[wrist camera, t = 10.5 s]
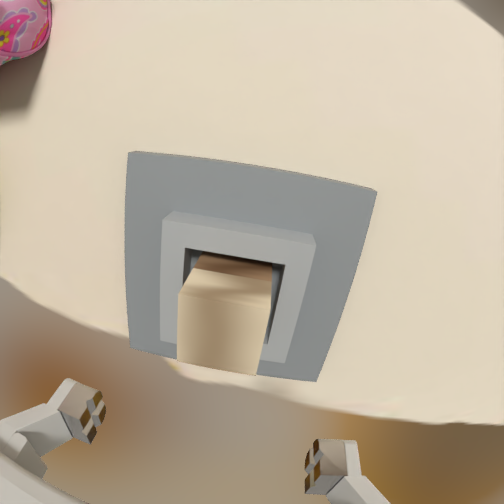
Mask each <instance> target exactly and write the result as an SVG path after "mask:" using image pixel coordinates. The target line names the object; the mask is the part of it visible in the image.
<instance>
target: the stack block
mask: <svg viewBox="0 0 504 504" xmlns="http://www.w3.org/2000/svg"><path fill="white" fill-rule="evenodd" d="M271 286H272V262H266V261H260V260H254V259H248V258H243V257H237V256H231V255H225V254H219V253H214V252H208V251H203V252H202V254H201V255H200V257H199V259H198V261H197V262H196V264H195V266H194V267H193V269H192V271H191V273H190V274H189V276H188V278H187V280H186V281H185V283H184V285H183V287H182V288H181V290H180V292H179V294H178V318H177V361H179V362H184V363H188V364H193V365H198V366H203V367H208V368H213V369H218V370H224V371H229V372H235V373H241V374H247V375H254V376H256V373H257V368H258V364H259V360H260V355H261V351H262V346H263V342H264V338H265V333H266V329H267V324H268V319H269V315H270V310H271Z"/></svg>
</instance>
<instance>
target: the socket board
mask: <svg viewBox="0 0 504 504" xmlns="http://www.w3.org/2000/svg"><path fill="white" fill-rule="evenodd" d="M376 195H377V192H376V191H375V190H373V189H371V188H367V187H363V186H359V185H355V184H350V183H346V182H341V181H337V180H332V179H327V178H322V177H317V176H312V175H307V174H302V173H297V172H292V171H286V170H280V169H275V168H269V167H263V166H257V165H250V164H244V163H237V162H230V161H223V160H216V159H208V158H200V157H191V156H183V155H173V154H163V153H152V152H140V151H134V152H129V153H128V161H127V176H126V196H125V280H126V300H127V315H128V328H129V338H130V348H133V349H137V350H140V351H144V352H148V353H152V354H156V355H160V356H164V357H168V358H173V359H177V318H178V294H179V292H180V290H181V288H182V287H183V285H184V283H185V281H186V280H187V278H188V276H189V274H190V273H191V271H192V269H193V267H194V266H195V264H196V262H197V261H198V259H199V257H200V255H201V254H202V252H203V251H208V252H214V253H219V254H225V255H231V256H237V257H243V258H248V259H254V260H260V261H266V262H272V286H271V310H270V315H269V319H268V324H267V329H266V333H265V338H264V342H263V346H262V351H261V355H260V360H259V364H258V368H257V373H256V375H263V376H270V377H277V378H285V379H293V380H302V381H312V382H316V381H317V378H318V376H319V374H320V371H321V369H322V366H323V364H324V361H325V358H326V356H327V353H328V351H329V348H330V345H331V343H332V340H333V337H334V335H335V332H336V329H337V326H338V324H339V321H340V318H341V315H342V312H343V309H344V306H345V303H346V300H347V297H348V294H349V291H350V288H351V285H352V282H353V279H354V275H355V272H356V269H357V266H358V262H359V259H360V256H361V252H362V249H363V245H364V242H365V238H366V234H367V231H368V227H369V223H370V219H371V215H372V211H373V207H374V203H375V199H376Z"/></svg>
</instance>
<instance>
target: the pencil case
mask: <svg viewBox="0 0 504 504" xmlns="http://www.w3.org/2000/svg"><path fill="white" fill-rule="evenodd" d="M51 26H52V19H51V8H50V0H0V66H1V65H2V64H4V63H6V62H8V61H10V60H15V59H20V58H24V57H27V56H30V55H32V54H33V53H35V52H36V51H38V50H39V49H41V48H42V47H43V46H44V44H45V43H46V41H47V40H48V37H49V35H50V31H51Z"/></svg>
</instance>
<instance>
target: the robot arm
mask: <svg viewBox="0 0 504 504" xmlns="http://www.w3.org/2000/svg"><path fill="white" fill-rule="evenodd" d="M102 397H103V396H102V393H101V392H100V391H98V390H95V389H93V388H90V387H88V386H86V385H83V384H81V383H79V382H76V381H74V380H72V379H69V378H67V379H65V380H64V381H63V383H62V384H61V385H60V387H59V388H58V389H57V391H56V392H55V394H54V395H53V396H52V398H51V399H50V400H49V402H48V403H47V404H44V403H43V404H41V405H38V406H36V407H33V408H31V409H28V410H26V411H23V412H21V413H18V414H15V415H13V416H10V417H7V418H5V419H2V420H1V421H0V504H89V503H87V502H85V501H82V500H80V499H78V498H76V497H74V496H72V495H70V494H68V493H66V492H64V491H62V490H60V489H59V488H57V487H55V486H53V485H51V484H49V483H48V482H46V481H44V480H43V479H42V478H43V476H44V474H45V472H46V470H47V466H46V464H45V463H44V462H43V460H42V459H41V458H40V457H41V456H43V455H45V454H46V453H48V452H49V451H51V450H53V449H55V448H57V447H58V446H60V445H61V444H63V443H65V442H67V441H68V440H70V439H72V437H74V438H77V439H79V440H81V441H83V442H86V443H88V444H91V443H92V441H93V439H94V437H95V435H96V433H97V431H96V427H97V426H99V425H101V424H102V422H103V420H104V417H105V414H106V407H105V404H104V403H103V402H102V400H101V399H102ZM305 471H306V472H307V473H308V476H307V477H306V479H305V494H320V495H321V494H322V495H326V497H327V498H328V500H329V501H330V503H331V504H390V503H389V502H388V501H387V499H386V498H385V497H384V496H383V495H381V493H380V492H379V491H378V490H377V489H376V488H375V486H374V485H373V484H372V483H371V482H370V481H369V480H368V479H367V478H366V476H362V475H361V468H360V461H359V454H358V447H357V443H356V441H354V440H331V439H316V440H315V441H314V443H313V448H311V449H310V450H309V451H308V453H307V456H306V460H305Z"/></svg>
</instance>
